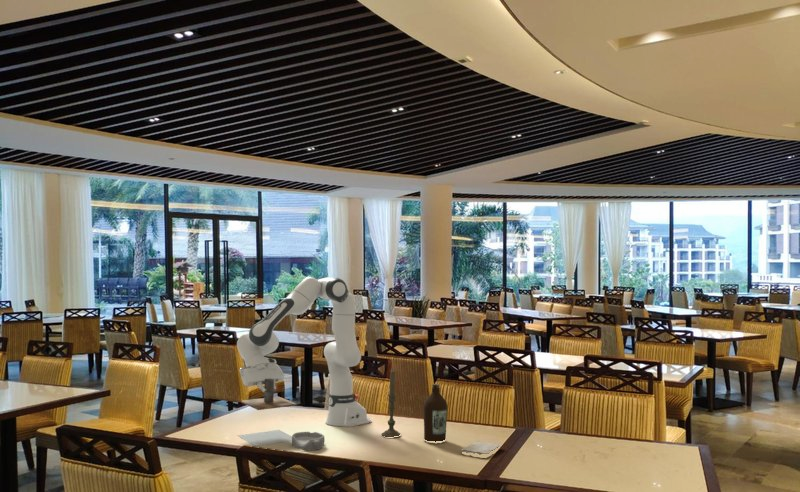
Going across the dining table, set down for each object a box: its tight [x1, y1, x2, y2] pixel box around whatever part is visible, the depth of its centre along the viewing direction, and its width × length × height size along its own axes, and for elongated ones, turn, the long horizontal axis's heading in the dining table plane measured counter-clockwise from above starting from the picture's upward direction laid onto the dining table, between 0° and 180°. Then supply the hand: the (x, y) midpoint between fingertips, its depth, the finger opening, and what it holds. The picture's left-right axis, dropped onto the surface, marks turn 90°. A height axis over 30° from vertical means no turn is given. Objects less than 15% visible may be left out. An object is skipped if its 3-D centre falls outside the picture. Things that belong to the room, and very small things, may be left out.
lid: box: [240, 379, 297, 411], centre depth 290 cm, size 18×18×11 cm
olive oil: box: [423, 383, 448, 442], centre depth 291 cm, size 11×11×25 cm
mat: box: [237, 429, 292, 447], centre depth 289 cm, size 20×20×1 cm
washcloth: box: [460, 440, 501, 455], centre depth 276 cm, size 12×18×3 cm, turn 150°
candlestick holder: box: [380, 369, 401, 438], centre depth 300 cm, size 9×9×30 cm
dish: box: [291, 431, 326, 451], centre depth 279 cm, size 14×14×5 cm
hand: (269, 390), depth 289 cm, fingers closed on lid, 4 cm apart
